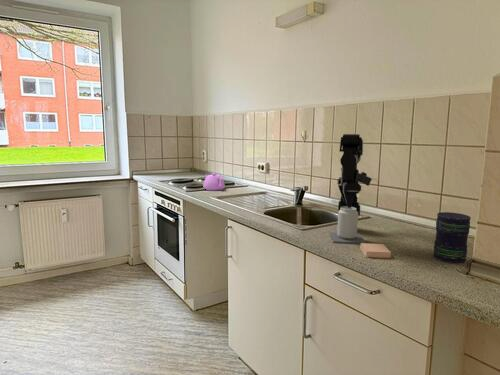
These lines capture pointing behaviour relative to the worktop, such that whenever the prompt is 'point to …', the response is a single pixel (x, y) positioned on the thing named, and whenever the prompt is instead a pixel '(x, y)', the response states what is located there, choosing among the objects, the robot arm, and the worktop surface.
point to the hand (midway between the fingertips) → (347, 205)
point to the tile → (375, 250)
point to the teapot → (213, 182)
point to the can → (347, 223)
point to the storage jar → (451, 237)
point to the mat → (337, 239)
